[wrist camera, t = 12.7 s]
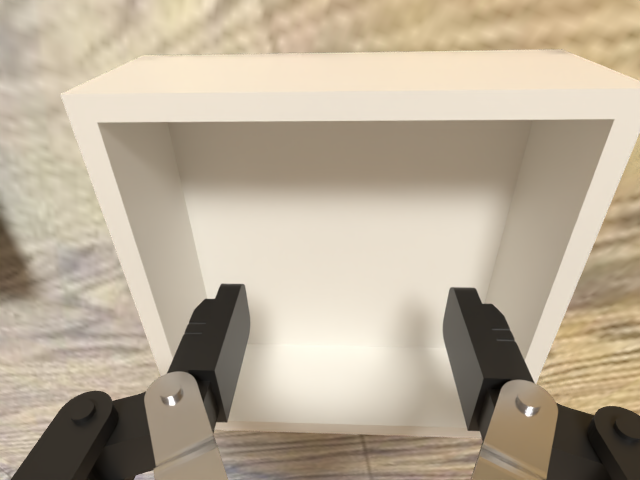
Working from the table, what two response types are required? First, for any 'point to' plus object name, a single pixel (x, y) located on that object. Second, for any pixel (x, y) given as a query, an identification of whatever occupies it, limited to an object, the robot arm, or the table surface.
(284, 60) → the bin
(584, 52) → the table surface
